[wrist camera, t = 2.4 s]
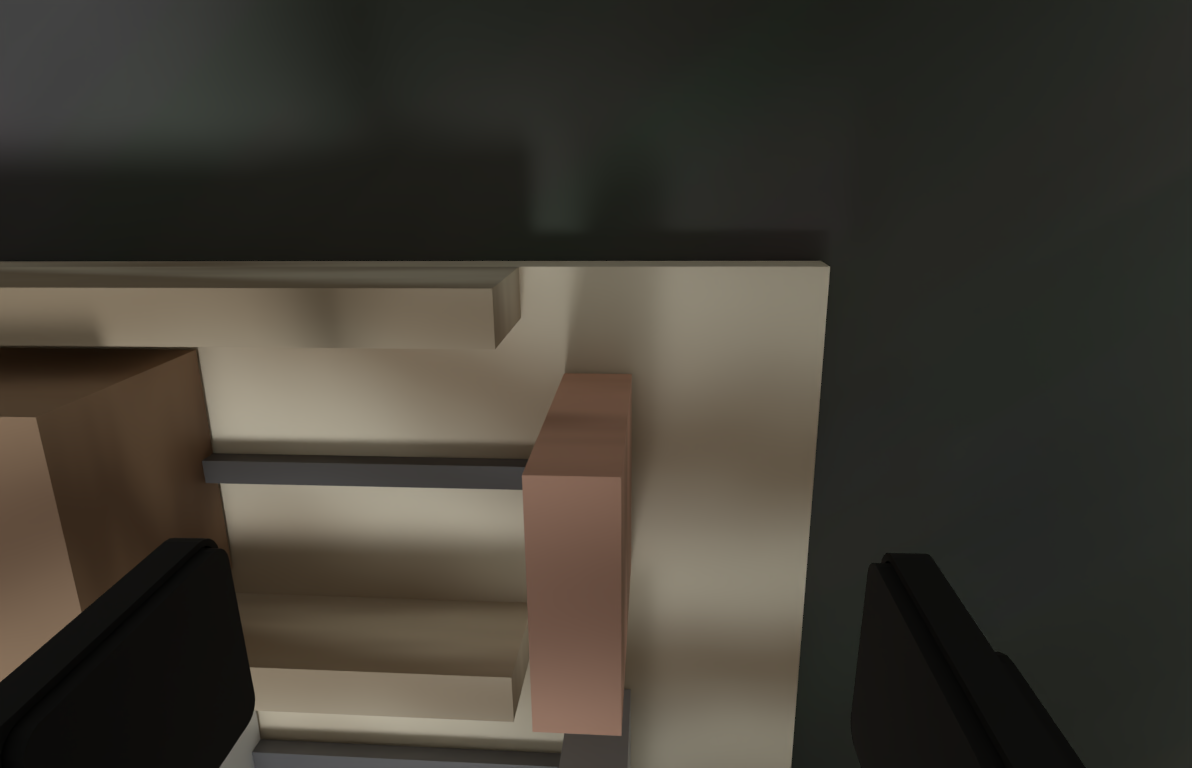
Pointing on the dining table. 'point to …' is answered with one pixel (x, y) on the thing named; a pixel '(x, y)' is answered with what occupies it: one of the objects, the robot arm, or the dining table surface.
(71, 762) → the robot arm
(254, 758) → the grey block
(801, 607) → the lane shelf
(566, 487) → the walnut block
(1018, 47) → the dining table surface
